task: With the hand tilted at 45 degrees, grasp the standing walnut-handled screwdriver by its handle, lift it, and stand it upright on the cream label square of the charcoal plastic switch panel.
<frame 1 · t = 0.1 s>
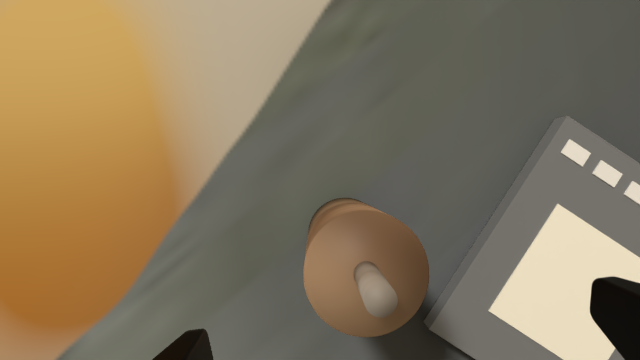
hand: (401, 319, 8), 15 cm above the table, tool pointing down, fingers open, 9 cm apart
switch panel: (570, 273, 24), on the table
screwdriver: (344, 234, 24), on the table
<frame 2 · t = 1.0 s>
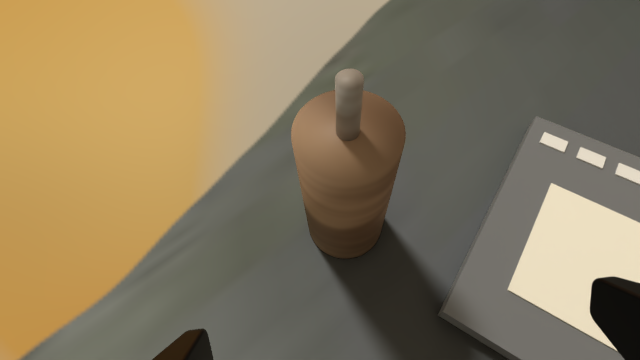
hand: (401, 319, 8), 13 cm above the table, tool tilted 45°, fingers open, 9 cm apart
switch panel: (593, 260, 22), on the table
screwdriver: (344, 223, 24), on the table
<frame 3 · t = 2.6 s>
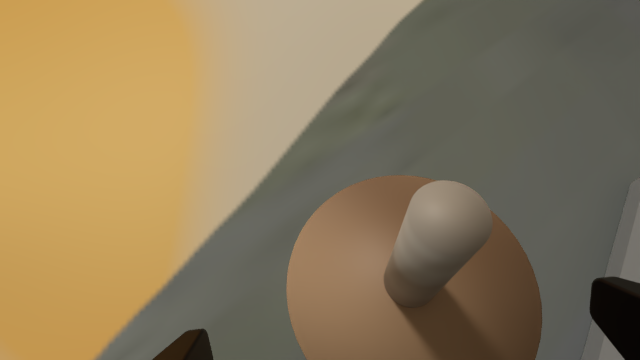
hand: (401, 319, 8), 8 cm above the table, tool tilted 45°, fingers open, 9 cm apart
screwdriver: (371, 342, 16), on the table
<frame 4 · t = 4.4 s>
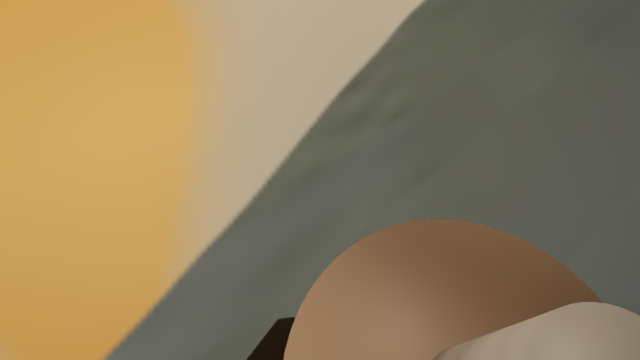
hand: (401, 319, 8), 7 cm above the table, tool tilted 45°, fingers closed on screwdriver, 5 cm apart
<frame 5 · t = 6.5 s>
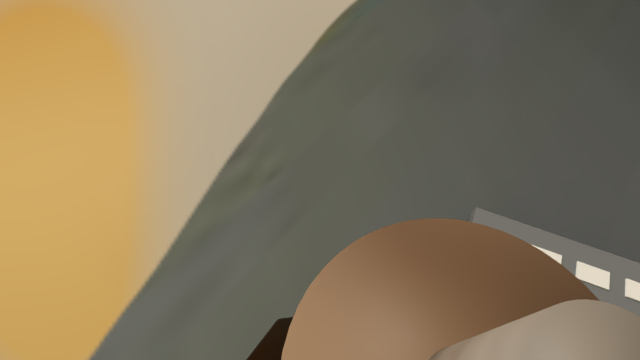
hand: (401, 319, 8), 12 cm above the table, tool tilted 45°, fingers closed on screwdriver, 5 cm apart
when the fingers open (9 cm above the table, at t = 8.9 s): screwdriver drops 1 cm, resting on switch panel.
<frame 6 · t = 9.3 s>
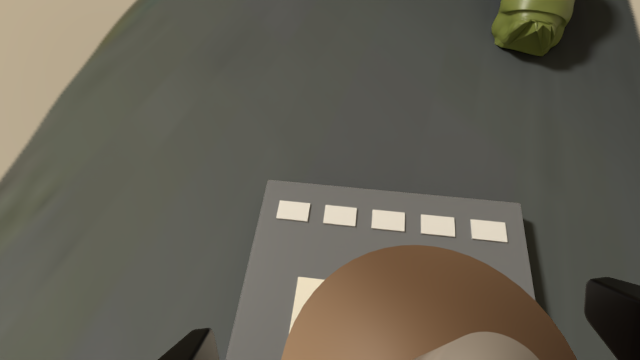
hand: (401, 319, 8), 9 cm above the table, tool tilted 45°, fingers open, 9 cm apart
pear: (523, 21, 27), on the table
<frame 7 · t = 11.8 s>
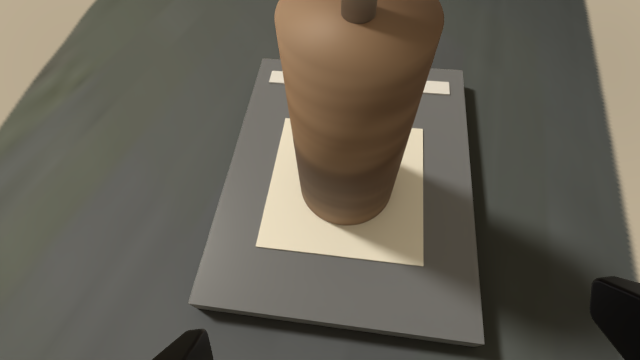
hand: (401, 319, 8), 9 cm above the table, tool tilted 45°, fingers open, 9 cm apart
switch panel: (347, 178, 21), on the table
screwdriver: (346, 183, 19), point 1 cm above the table, touching switch panel
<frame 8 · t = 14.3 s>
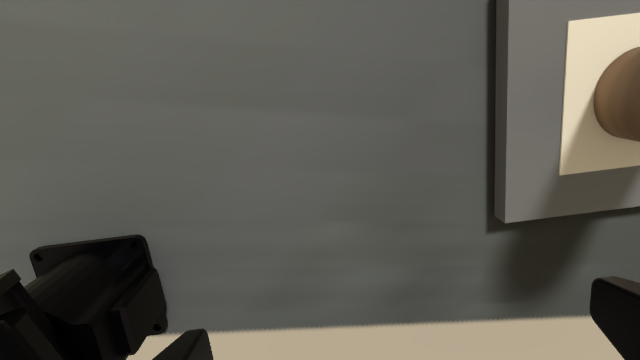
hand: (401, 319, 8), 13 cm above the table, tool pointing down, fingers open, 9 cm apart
switch panel: (634, 90, 20), on the table
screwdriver: (638, 93, 19), point 1 cm above the table, touching switch panel
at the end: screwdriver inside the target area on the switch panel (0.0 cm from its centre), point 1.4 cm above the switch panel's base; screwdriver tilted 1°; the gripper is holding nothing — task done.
